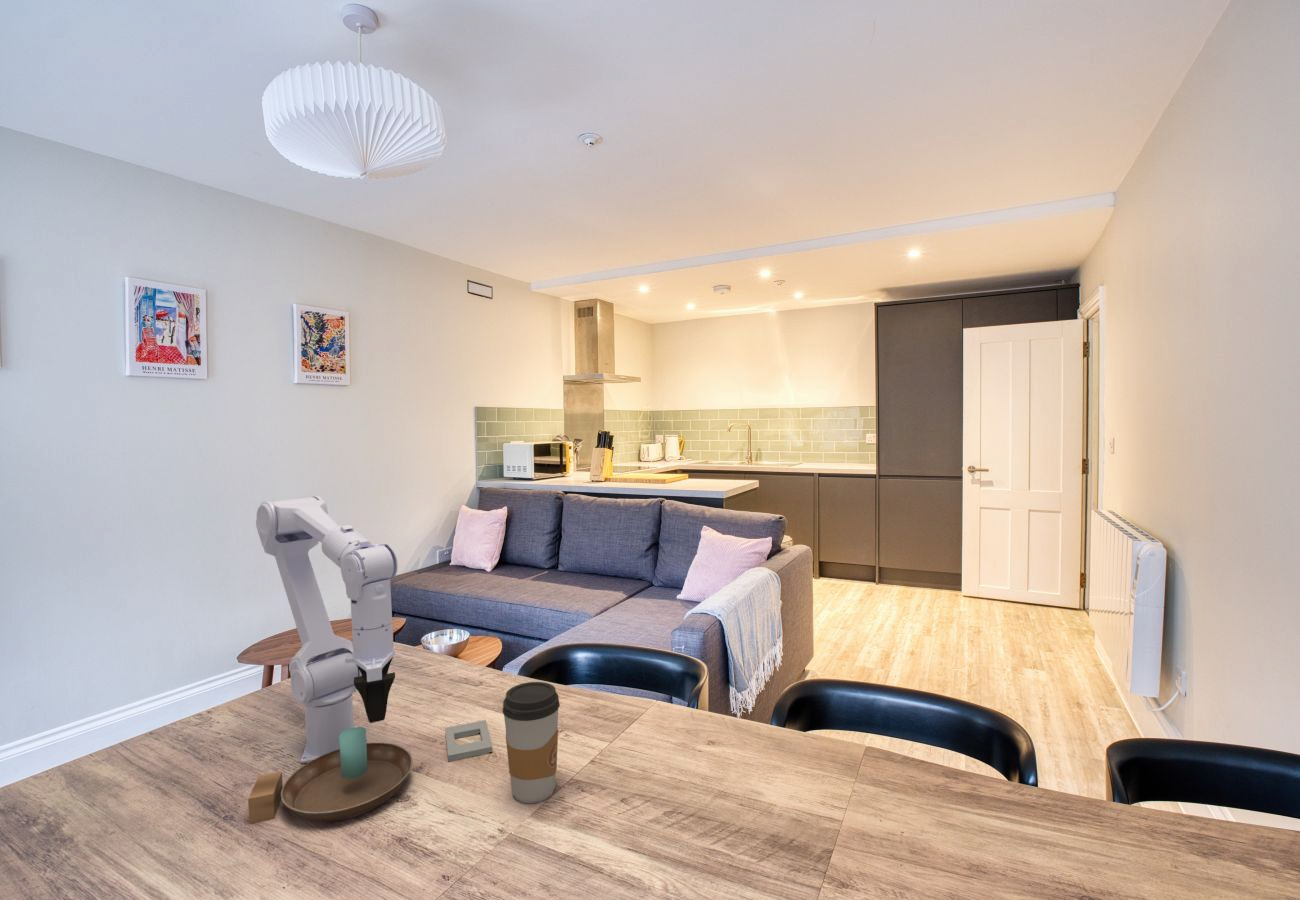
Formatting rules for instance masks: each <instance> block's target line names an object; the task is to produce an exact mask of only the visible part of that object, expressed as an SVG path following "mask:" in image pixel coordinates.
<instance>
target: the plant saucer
mask: <svg viewBox="0 0 1300 900" xmlns="http://www.w3.org/2000/svg"><path fill="white" fill-rule="evenodd" d="M366 744H367V767H368V770H367V771H366V773H364V774H363V775H361V776H359V777H356V778H351V779H345V778H342V777H341V762H340V749H338V750H335V751H332V752H329V753H327V754H324V755H322V756H320V757H318V758H315V759H314V760H312V761H310V762H307V763H304V765H302V766H300V767H299V768H298V769H297V770H295V771H294V772H293V773H292V774H291V775H290V776H288V778H287V779H286V781H285V783H284V784H283V788H282V790H281V802H282V804H284V805H285V806H286V808H288V809H289V810H290V811H291V812H292V813H294V814H295V815H296V816H299V817H301V818H303V819H305V820H307V821H311V822H320V823H325V822H337V821H343V820H347V819H350V818H351V819H352V818H354V817H358V816H360V815H363V814H365V813H368V812H370V811H372V810H375V809H376V808H378V807H379V806H381V805H382V804H384V803H386V802H387V801H388V800H389V799H390V798H392V796H393V795H395V793H397V791H398V790H400V788H401V786H402V785H403V784H404V783H405V781H406V779H407V778H408V776H409V774H410V771H411V769H413V768H412V767H413V756H412V754H411V752H410V751H409V750H407V749H406V748H405V747H403V746H400V745H398V744H394V743H389V742H366Z"/></svg>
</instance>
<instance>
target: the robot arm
mask: <svg viewBox="0 0 1300 900" xmlns="http://www.w3.org/2000/svg"><path fill="white" fill-rule="evenodd" d="M256 510H257V511H256V521H255V526H256V529H257V533H258V536H259V540H260V543H261V546H262V547H263V550H264V553H265V554H268V555H270V556H273V557H274V558H275V561H276V565H277V568H278V572H279V574H280V578H281V581H282V584H283V588H284V590H285V591H284V592H285V594H286V597H287V600H288V604H289V607H290V611H291V614H292V617H293V620H294V623H295V626H296V629H297V630H296V631H297V634H298V637H299V639H300V642H301V645H302V646H301V647H300V648H299V650H298V651H297V652H296V653H295V655H294V656H293V657H292V658H291V660H290V662H289V664H288V670H289V674H290V687H291V692H292V695H293V696H294V698H295V700H296V701H297V702H298V703H300V704H302V705H304V715H305V717H304V719H305V721H304V723H305V738H306V739H305V741H306V744H305V747H304V749H303V750H304V751H303V752H302V754H301V755H302V756H301V759H300V764H307V763H308V762H310V761H312V760H314V759H315V758H318V757H320V756H322V755H324V754H327V753H329V752H332V751H335V750H338V749H340V740H339V735H340V733H342V732H343V731H345V730H347V729H350V728H354V727H360V726H359V725H354V724H355V723H354V703H353V699H354V698H353V694H355V693H356V692H358V693H359V695H360V697H361V700H362V701H363V705H364V709H365V713H366V717H367V720H368V722H369V723H370V724H372V723H377V722H381V721H384V720H385V719H386V715H387V708H388V699H389V694H390V691H391V687H392V686H393V683H394V681H395V678H396V672H389V669H390V665H391V663H392V661H393V659H394V657H395V655H396V648H395V647H394V631H393V629H394V628H393V627H394V626H393V613H392V612H393V611H392V609H393V608H392V594H391V593H392V587H391V580H393V579H394V578H395V577H396V575H397V572H398V566H399V565H398V559H397V555H396V553H395V551H394V549H393V548H392V547H391V546H390V545H389V543H380V544H379V543H376V544H374V543H372V542H371V541H370V540H368V538H366V537H364V536H363V535H362V534H361V533H360V532H359V531H357V530H355V528H354V527H353V526H352V525H351V524H347V525H339V524H338V523H337V522H336V521H335V520H334V519H333V518H332V516H330V515H329V512H328V506H327V503H326V501H325V500H323V499H322V498H321V496H319V495H314V496H311V497H302V498H293V499H285V500H274V501H269V500H266V501H262V502H261V504H260V505H259V507H258V508H257V509H256ZM319 542H320V543H321V551H322V553H323V554H324V556H326V557H327V558H328V559H329V560H331V562H333V563H334V565H336V566H337V567H338V568H339V569H340V573H341V577H342V581H343V582H344V585H345V590H346V591H345V592H346V593H345V594H346V596H347V597H346V598H348V599H350V612H351V613H350V614H351V615H350V616H351V632H352V633H351V634H352V640H349V639H347V638H344V637H342V636H339V635H336V634H335V633H334V631H333V627H332V624H331V621H330V619H329V616H328V615H329V614H328V612H327V609H326V606H325V602H324V599H323V596H322V594H321V590H320V588H319V583H318V581H317V578H316V575H315V572H314V569H313V565H312V562H311V559H310V555H309V551H310V550H311V549H314V547H316V546H317V545H318V544H319Z"/></svg>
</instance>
